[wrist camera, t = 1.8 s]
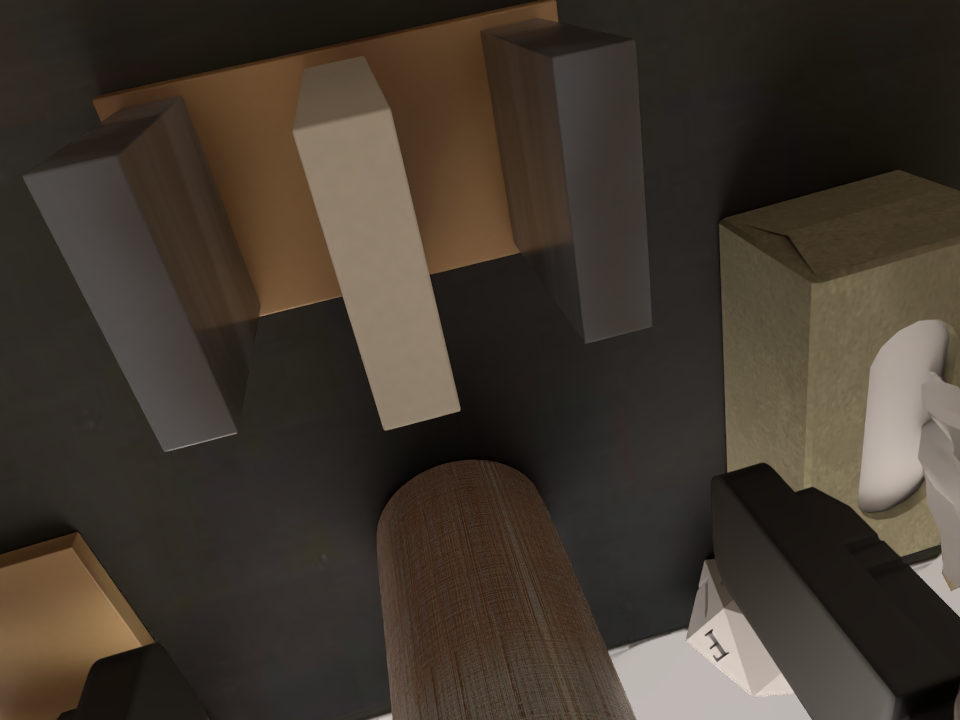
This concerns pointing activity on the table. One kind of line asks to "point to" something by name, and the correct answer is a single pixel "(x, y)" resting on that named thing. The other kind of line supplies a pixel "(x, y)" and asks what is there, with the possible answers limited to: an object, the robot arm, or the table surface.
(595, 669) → the planter
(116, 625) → the cream book rack
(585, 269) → the grey book rack
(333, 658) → the table surface
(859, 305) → the tissue box
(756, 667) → the die
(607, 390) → the table surface
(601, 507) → the table surface
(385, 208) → the cream book
